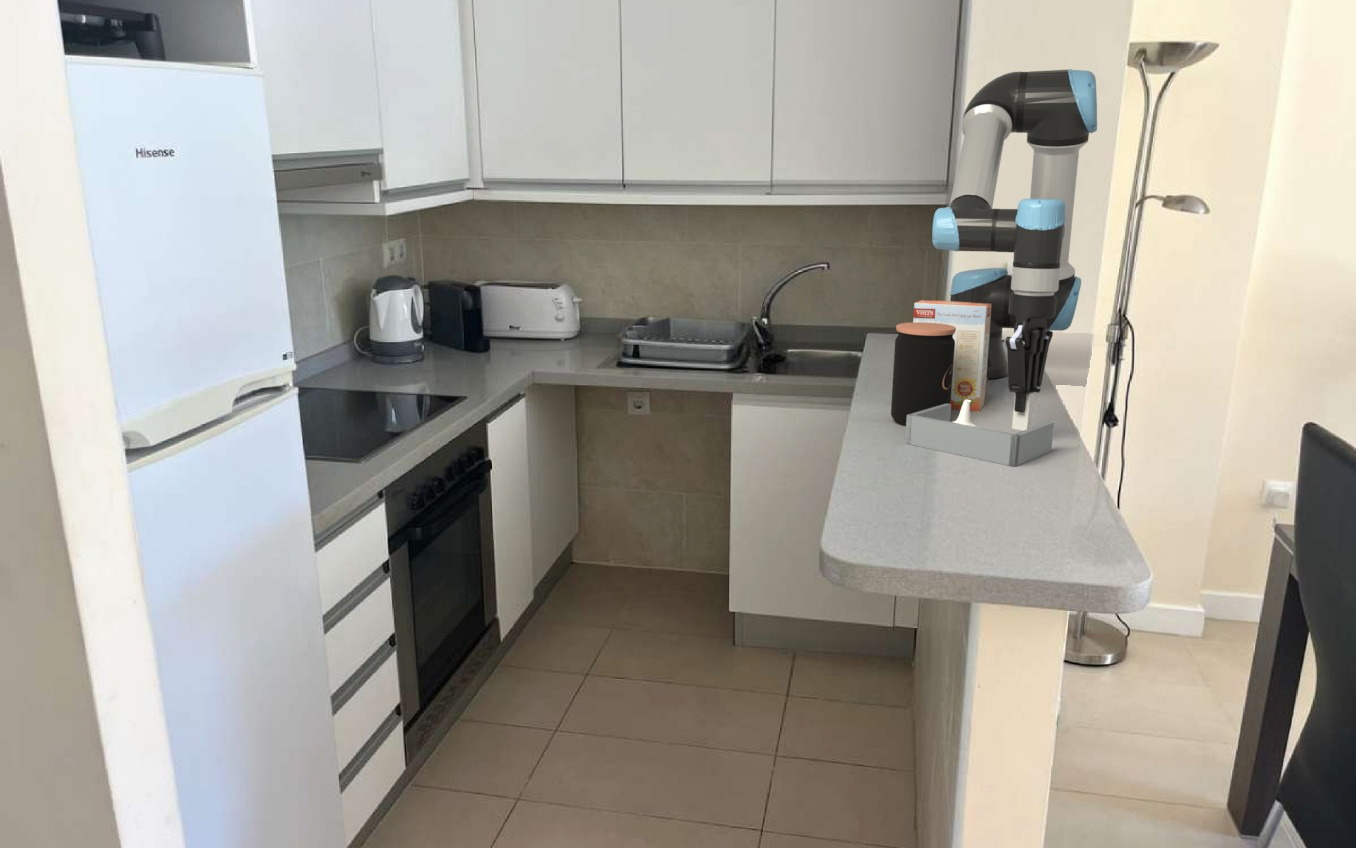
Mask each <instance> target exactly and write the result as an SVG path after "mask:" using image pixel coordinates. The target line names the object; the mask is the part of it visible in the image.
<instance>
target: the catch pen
mask: <svg viewBox="0 0 1356 848" xmlns="http://www.w3.org/2000/svg"><path fill="white" fill-rule="evenodd" d="M951 412H952V409H951V404H947V403H946V404H943V405H939V406H936V407H932V408H929V409H926V410H922V411H919V412H915V413H912V414H909V415H907V421H906V426H905V437H904V438H905V439H904V440H905V441H904V444H906V445H911V446H916V447H919V448H925V449H930V450H934V451H940V452H943V453H948V454H953V455H957V456H963V457H967V458H972V459H977V460H980V461H986V462H991V463H995V464H1000V465H1004V466H1009V467H1015V468H1016V467H1017V466H1020V465H1022V464H1025V463H1027V462H1030V461H1032V460H1035V459H1037V458H1039V457H1041V456H1044V455H1047V454H1049V453H1052V447H1053V438H1054V437H1053V436H1054V429H1055V422H1053V421H1047V422H1043V423H1040V424H1038V425H1035V426H1031V428H1029V429H1027V430H1024V431H1022V430H1020V431H1018V432H1017V433H1012V432H1011V433H1010V432H1005V431H1000V430H996V429H990V428H984V427H980V426H977V427H975V426H976V425H975V426H970V425H964V424H959V423H954V421H951V415H952V413H951Z"/></svg>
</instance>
